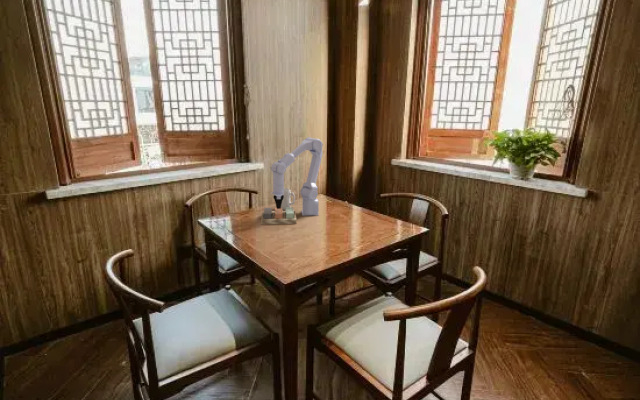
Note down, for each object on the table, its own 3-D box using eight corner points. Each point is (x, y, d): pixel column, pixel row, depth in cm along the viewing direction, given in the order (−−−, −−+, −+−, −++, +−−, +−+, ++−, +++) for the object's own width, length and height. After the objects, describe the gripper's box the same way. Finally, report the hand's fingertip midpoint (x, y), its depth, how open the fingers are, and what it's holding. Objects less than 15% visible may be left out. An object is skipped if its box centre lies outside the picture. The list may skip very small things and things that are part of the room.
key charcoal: (271, 214, 199) (271, 207, 198) (271, 220, 188) (271, 213, 187) (264, 214, 198) (264, 207, 197) (263, 220, 188) (263, 213, 187)
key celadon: (292, 214, 200) (292, 207, 199) (293, 220, 190) (293, 213, 189) (285, 214, 200) (285, 207, 199) (286, 220, 189) (286, 213, 188)
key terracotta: (282, 214, 199) (282, 207, 198) (282, 220, 189) (282, 213, 188) (275, 214, 199) (275, 207, 198) (275, 220, 188) (275, 213, 187)
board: (295, 215, 203) (295, 211, 202) (296, 223, 188) (296, 219, 188) (262, 215, 200) (262, 211, 200) (261, 224, 186) (261, 219, 185)
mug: (277, 209, 213) (277, 190, 210) (282, 206, 219) (282, 187, 216) (292, 211, 209) (292, 192, 206) (297, 208, 215) (297, 189, 212)
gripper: (271, 181, 195) (271, 204, 199) (270, 187, 181) (271, 212, 185) (283, 181, 196) (283, 204, 200) (284, 187, 182) (284, 212, 186)
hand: (278, 208), depth 193 cm, fingers closed
